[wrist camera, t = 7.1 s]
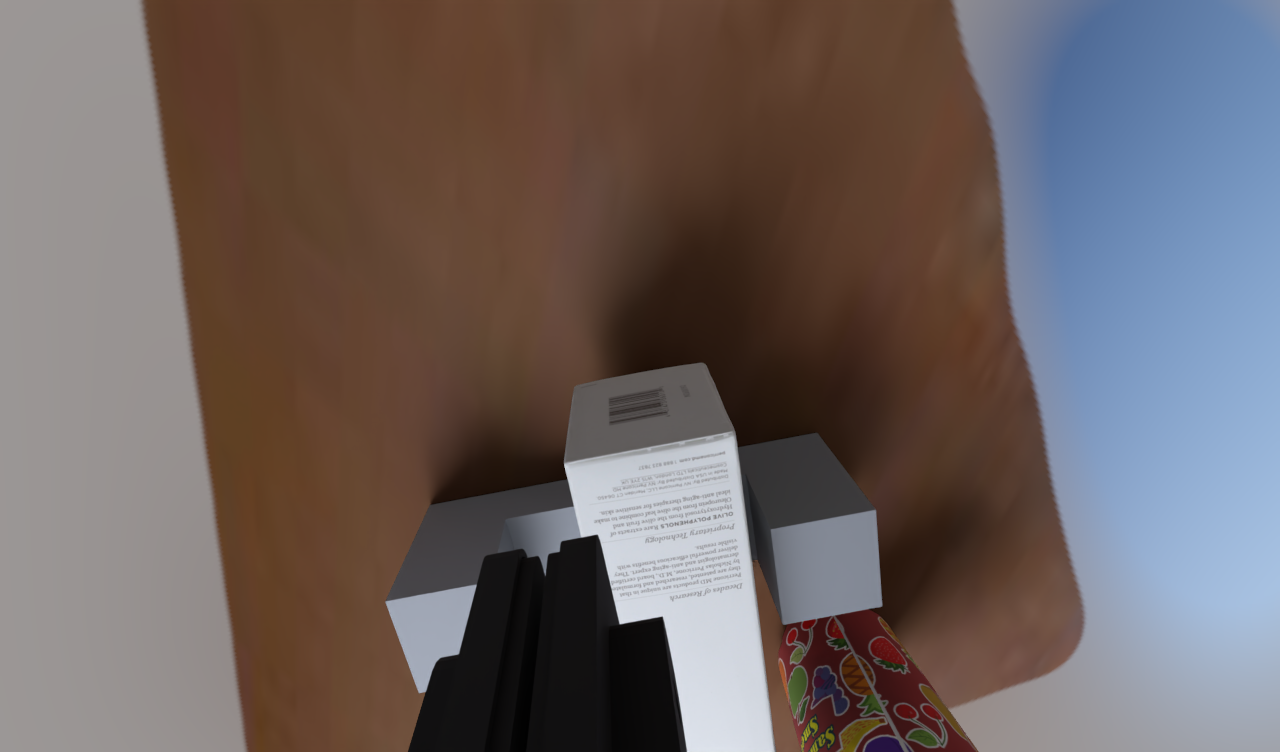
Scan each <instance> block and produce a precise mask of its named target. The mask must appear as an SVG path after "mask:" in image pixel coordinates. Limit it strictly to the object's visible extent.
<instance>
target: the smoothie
mask: <svg viewBox="0 0 1280 752" xmlns="http://www.w3.org/2000/svg"><path fill="white" fill-rule="evenodd" d="M782 640H783V641H782V644H781V647H780V649H779V669H780V672H781V676H782V680H783V684H784V688H785V692H786V695H787V699H788V703H789V707H790V711H791V714H792V718H793V722H794V726H795V730H796V733H797V737H798V741H799V745H800V749H801V752H978V750H977V749H976V748H975V746H974V745H973V743H972V742H971V741H970V739H969V738H968V736H967V735H966V734H965V732H964V731H963V729H962V728H961V726H960V725H959V724H958V722H957V721H956V719H955V718H954V717H953V715H952V714H951V712H950V711H949V710H948V708H947V707H946V705H945V704H944V703H943V701H942V700H941V698H940V697H939V696H938V694H937V693H936V691H935V690H934V689H933V687H932V686H931V684H930V683H929V682H928V680H927V679H926V677H925V676H924V675H923V673H922V672H921V670H920V669H919V668H918V666H917V665H916V663H915V662H914V661H913V659H912V658H911V656H910V655H909V654H908V652H907V651H906V649H905V648H904V647H903V645H902V644H901V642H900V641H899V640H898V638H897V637H896V635H895V634H894V633H893V631H892V630H891V628H890V627H889V625H888V624H887V623H886V622H885V621H884V620H883V619H882V618H881V617H880V616H879V614H877V613H875V612H873V611H871V610H869V609H866V610H861V611H855V612H850V613H845V614H839V615H834V616H829V617H823V618H818V619H813V620H807V621H802V622H796V623H791V624H787V626H786V629H785V632H784V634H783V637H782Z"/></svg>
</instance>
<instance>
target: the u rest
mask: <svg viewBox="0 0 1280 752" xmlns="http://www.w3.org/2000/svg"><path fill="white" fill-rule="evenodd" d="M738 454H739V461H740V469H741V478H742V486H743V494H744V502H745V510H746V518H747V526H748V534H749V542H750V549H751V557H752V560H757V559H758V562H759V564H760V567H761V569H762V572H763V575H764V577H765V580H766V582H767V585H768V587H769V590H770V593H771V595H772V598H773V600H774V603H775V606H776V608H777V611H778V613H779V616H780V619H781V621H782V624H783V625H786V624H791V623H796V622H802V621H807V620H813V619H818V618H823V617H829V616H834V615H839V614H845V613H850V612H855V611H861V610H866V609H871V608H877V607H882V594H881V579H880V564H879V549H878V534H877V519H876V509H875V508H874V507H873V505H872V504H871V503H870V501H869V500H868V499H867V497H866V496H865V495H864V494H863V492H862V491H861V490H860V488H859V487H858V486H857V484H856V483H855V482H854V480H853V479H852V478H851V476H850V475H849V474H848V473H847V471H846V470H845V469H844V467H843V466H842V465H841V463H840V462H839V461H838V459H837V458H836V457H835V455H834V454H833V453H832V452H831V450H830V449H829V448H828V446H827V445H826V444H825V442H824V441H823V440H822V438H821V437H820V436H819V434H818V433H812V434H807V435H802V436H796V437H791V438H786V439H780V440H775V441H770V442H764V443H759V444H753V445H748V446H743V447H738ZM576 538H581V535H580V530H579V526H578V522H577V517H576V513H575V509H574V505H573V500H572V496H571V492H570V487H569V483H568V479H566V480H561V481H556V482H550V483H545V484H540V485H534V486H529V487H524V488H518V489H513V490H508V491H502V492H497V493H492V494H486V495H481V496H476V497H470V498H465V499H459V500H454V501H449V502H443V503H438V504H433V505H430V506H429V508H428V510H427V513H426V515H425V517H424V519H423V521H422V523H421V526H420V528H419V530H418V532H417V534H416V536H415V539H414V541H413V543H412V545H411V547H410V549H409V552H408V554H407V556H406V558H405V560H404V562H403V565H402V567H401V569H400V571H399V573H398V575H397V577H396V580H395V582H394V584H393V586H392V588H391V590H390V593H389V595H388V597H387V599H386V601H385V602H386V605H387V607H388V610H389V613H390V615H391V618H392V621H393V624H394V626H395V629H396V632H397V634H398V637H399V640H400V643H401V645H402V648H403V651H404V653H405V656H406V659H407V662H408V664H409V667H410V670H411V673H412V675H413V678H414V681H415V683H416V686H417V689H418V692H419V693H422V692H426V690H427V686H428V683H429V680H430V676H431V673H432V670H433V668H434V666H435V663H436V662H437V661H438V660H439V659H440V658H441V657H447V656H452V655H457V654H459V651H460V647H461V644H462V640H463V636H464V632H465V628H466V624H467V620H468V616H469V613H470V609H471V605H472V601H473V597H474V593H475V589H476V586H477V582H478V578H479V574H480V570H481V566H482V562H483V559H484V557H485V556H486V555H490V554H495V553H501V552H506V551H512V550H517V549H524V550H525V552H526V554H527V557H534V556H539V558H540V560H541V563H542V566H543V570H544V573H545V576H546V567H547V558H548V554H550V553H555V552H560V544H561V542H562V541H565V540H571V539H576Z"/></svg>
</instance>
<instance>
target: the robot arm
mask: <svg viewBox="0 0 1280 752" xmlns="http://www.w3.org/2000/svg"><path fill="white" fill-rule="evenodd" d="M408 752H687V748H686V741H685V734H684V727H683V721H682V714H681V708H680V702H679V696H678V690H677V684H676V678H675V673H674V668H673V662H672V657H671V652H670V647H669V642H668V637H667V632H666V628H665V623H664V619H663V616H662V617H656V618H651V619H646V620H640V621H635V622H629V623H624V624H620V623H619V619H618V615H617V610H616V606H615V602H614V598H613V593H612V589H611V585H610V580H609V576H608V572H607V567H606V563H605V559H604V554H603V550H602V546H601V542H600V539H599V536H598V535H592V536H587V537H581V538H576V539H571V540H565V541H562V542H561V544H560V552H555V553H550V554H548V558H547V567H546V576H545V573H544V570H543V566H542V563H541V560H540V558H539V556H534V557H527V554H526V552H525V550H524V549H517V550H512V551H506V552H501V553H495V554H490V555H486V556H485V557H484V559H483V562H482V566H481V570H480V574H479V578H478V582H477V586H476V589H475V593H474V597H473V601H472V605H471V609H470V613H469V616H468V620H467V624H466V628H465V632H464V636H463V640H462V644H461V647H460V651H459V654H457V655H452V656H447V657H441V658H440V659H439V660H438V661H437V662H436V663H435V666H434V668H433V670H432V673H431V676H430V680H429V683H428V686H427V690H426V693H425V696H424V700H423V703H422V707H421V710H420V713H419V717H418V720H417V723H416V727H415V730H414V733H413V737H412V740H411V743H410V747H409V750H408Z"/></svg>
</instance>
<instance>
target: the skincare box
mask: <svg viewBox="0 0 1280 752" xmlns="http://www.w3.org/2000/svg"><path fill="white" fill-rule="evenodd" d="M564 467H565V471H566V475H567V479H568V483H569V487H570V492H571V496H572V500H573V505H574V509H575V513H576V517H577V522H578V526H579V530H580V535H581V537H587V536H592V535H598V536H599V539H600V542H601V546H602V550H603V554H604V559H605V563H606V567H607V572H608V576H609V580H610V585H611V589H612V593H613V598H614V602H615V606H616V610H617V615H618V619H619V623H620V624H624V623H629V622H635V621H640V620H646V619H651V618H656V617H662V616H663V619H664V623H665V628H666V632H667V637H668V642H669V647H670V652H671V657H672V662H673V668H674V673H675V678H676V684H677V690H678V696H679V702H680V708H681V714H682V721H683V727H684V734H685V741H686V748H687V752H776V747H775V741H774V735H773V726H772V718H771V710H770V702H769V694H768V686H767V678H766V670H765V661H764V653H763V646H762V638H761V629H760V621H759V612H758V604H757V597H756V589H755V581H754V573H753V565H752V557H751V549H750V542H749V534H748V526H747V518H746V510H745V502H744V494H743V486H742V478H741V469H740V461H739V454H738V447H737V440H736V433H735V430H734V427H733V425H732V423H731V421H730V419H729V417H728V415H727V412H726V410H725V408H724V405H723V403H722V400H721V398H720V395H719V393H718V391H717V388H716V386H715V383H714V381H713V379H712V377H711V376H710V373H709V370H708V368H707V366H706V364H704V363H695V364H688V365H681V366H675V367H669V368H663V369H657V370H651V371H645V372H639V373H634V374H629V375H624V376H618V377H613V378H607V379H602V380H598V381H593V382H589V383H585V384H581V385H577V386H575V388H574V392H573V397H572V404H571V411H570V419H569V426H568V433H567V441H566V449H565V457H564Z"/></svg>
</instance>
